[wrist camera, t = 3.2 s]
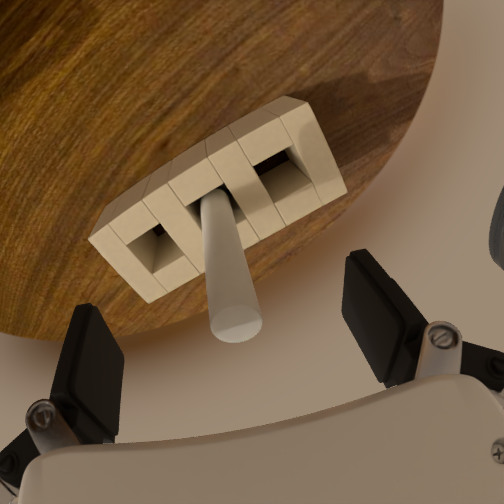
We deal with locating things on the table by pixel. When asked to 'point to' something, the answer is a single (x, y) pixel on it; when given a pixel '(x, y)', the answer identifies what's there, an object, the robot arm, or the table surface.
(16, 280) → the table surface
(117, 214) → the pen stand
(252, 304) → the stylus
